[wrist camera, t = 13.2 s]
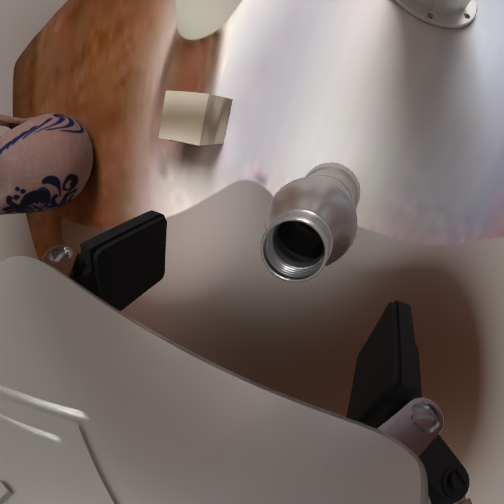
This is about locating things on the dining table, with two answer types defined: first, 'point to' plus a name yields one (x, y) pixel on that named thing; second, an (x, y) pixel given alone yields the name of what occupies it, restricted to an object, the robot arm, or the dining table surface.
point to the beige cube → (194, 118)
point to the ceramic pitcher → (42, 162)
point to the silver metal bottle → (311, 222)
